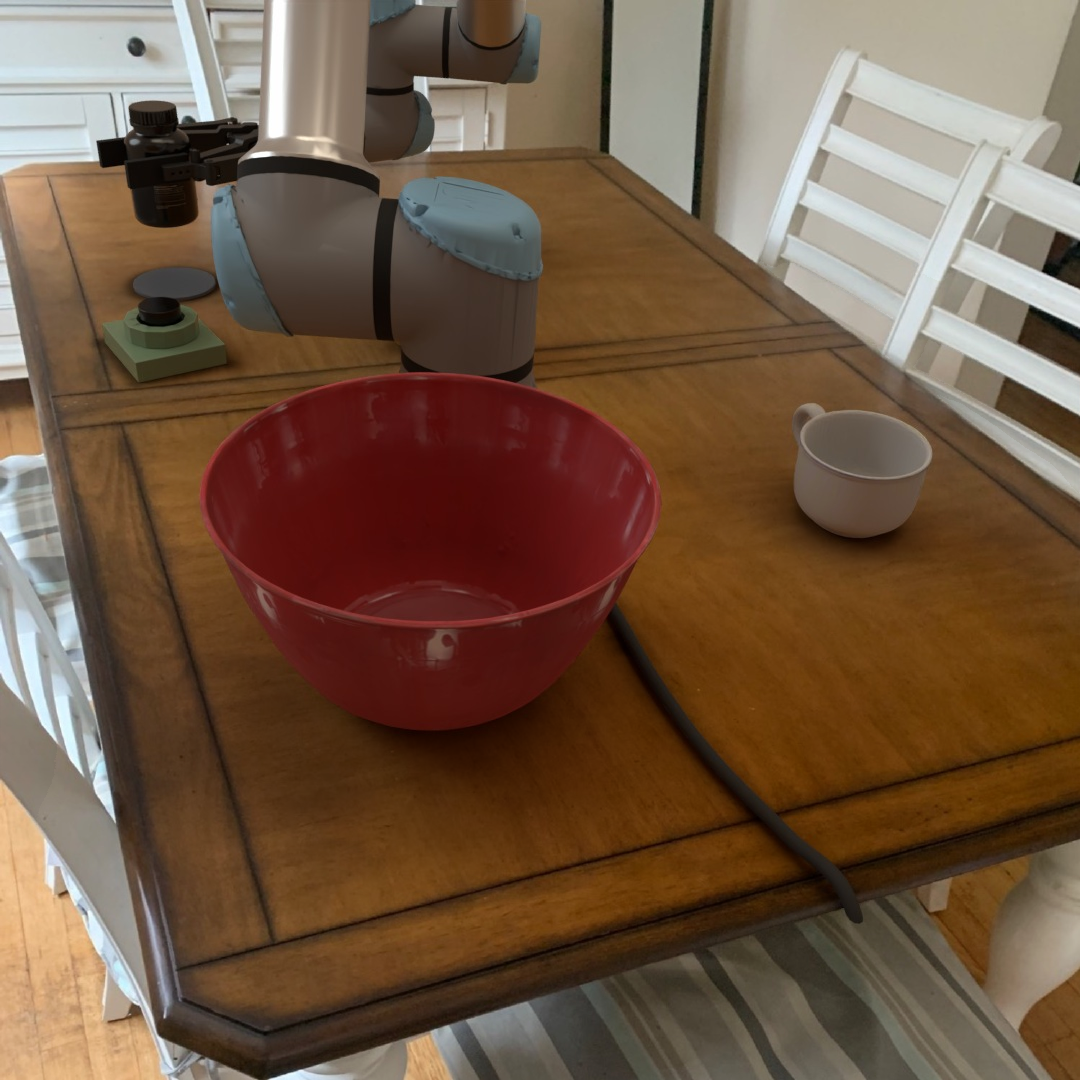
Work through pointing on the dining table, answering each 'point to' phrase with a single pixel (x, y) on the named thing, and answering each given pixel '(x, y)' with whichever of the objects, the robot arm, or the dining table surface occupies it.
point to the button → (159, 312)
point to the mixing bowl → (430, 539)
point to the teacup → (857, 469)
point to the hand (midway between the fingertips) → (113, 164)
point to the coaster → (174, 283)
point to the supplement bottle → (160, 138)
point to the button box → (164, 346)
